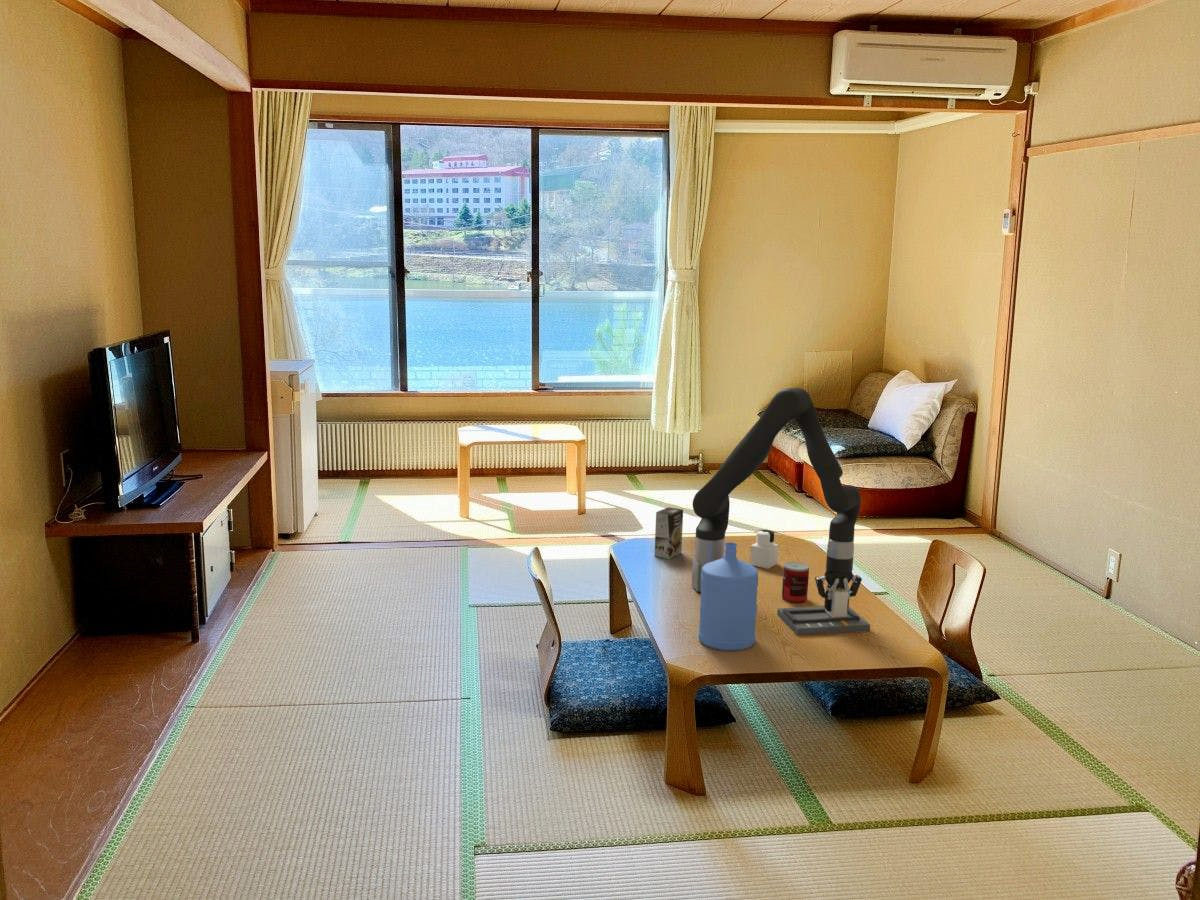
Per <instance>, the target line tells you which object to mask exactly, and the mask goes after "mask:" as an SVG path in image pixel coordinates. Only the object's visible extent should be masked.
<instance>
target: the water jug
mask: <svg viewBox="0 0 1200 900" xmlns="http://www.w3.org/2000/svg"><path fill="white" fill-rule="evenodd" d="M737 547H738V544H737V543H735V542H731V541H730V542H725V548H724V558H722V559H719V560H715V561H712V562H709V563H707V564H705V565H704V566H703V567H702V573H701V592H700V605H699V612H700V613H699V626H698V627H699V628H698V639H699V641H700V642H701V643H702V644H703V645H705V646H706V647H709V648H711V649H714V650H717V651H718V650H719V651H725V652H727V651H729V652H733V651H734V652H735V651H742V650H746V649H748V648H750V647H752V646H753V645H754V644H755V642H756V623H757V622H756V619H757V611H758V606H757V604H758V603H757V601H758V600H757V599H758V586H759V571H758V569H757V568H756V566H753V565H750V563H748V562H745V561H743V560H741V559H739V558H737V551H738V550H737Z"/></svg>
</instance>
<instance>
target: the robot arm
mask: <svg viewBox="0 0 1200 900" xmlns="http://www.w3.org/2000/svg"><path fill="white" fill-rule="evenodd" d="M793 420H794V422H796V424H797V426H798V427H799V429H800V431H801V433H802V435H803V438H804V442H805V447H806V451H807V452H806V453H807V456H808V459H809V462H810V463H811V466H812V468H813V470H814V472H815V473H816V474H815V475H817V477H818V478H819V481H820V486H821V489H822V494H823V497H824V500H825V503H826V504H827V506H828V508H829V509H830V510H831V511H833V512H835V513H836V514H835V516H834V517H833V518H832V519H831V521H830V523H829V528H828V529H829V532H828V541H827V545H826V546H827V547H826V562H825V572H824V574H823V576H820V577H819V576H815V577H814V579H815V580H814V581H815V584H816V589H817V593H818V595H819V596H820V597H821V598H823V599H824V605H823V606H824V607H825V609H826V610H827V611H828V612H829V611H831V605H832V600H831V598H832V595H833V592H834V591H835V589H837V588H843V589H844V590H847V591H848V605H847V609H848V607H850V598H852V597H856V596H857V594H858V591H859V589H860V585H861V584H862V580H863V578H862V577H861V576H860V575H858V574H854V573H853V569H854V568H853V567H854V555H855V543H854V541H855V540H854V539H855V525H856V523H857V519H858V517H859V513H860V510H861V505H862V496H861V493H860V490H859V489H858V488H857V487H856V486H855V485H851V484H847V485H844V486H843V484H842V482H841V479H840V478H841V477H843V474H844V472H843V468H842V466H841V464H840V462H839V461H838V459H837V457H836V455H835V454H834V452H833V450H832V447H831V446H830V444H829V441H828V440H827V438H826V435H825V432H824V431H823V430H824V429H823V428H822V425H821V422H820V420H819V417H818V414H817V412H816V408H815V406H814V402H813V399H812V397H811V395H810V394H809V392H808V391H807V390H805V389H804V388H801V387H789V388H788V387H787V388H783V389H780V390H779V391H778V392H777V393H776V394H775V395H773V397H772V399H771V400H770V402H769V403H768V405H767V406H766V408H765V409H764V412H763V413H762V414H761V416H760V417H759V418H758V420H757V421H756V422H755V423H754V425H753V426H752V427H750V429H749V430H748V431H747V433H746V434H745V435H744V436H743V438H742V439H741V440H740V441H739V442H738V444H737V445H736V446H735V447H734V448H733V450H732V451H731V452H730V454H729V455H728V456H727V458H726V459H725V460H724V461H723V463H722V464H721V465H720V467H719V469H718V470H717V471H716V473H715V474H714V475H713V476H712V477H711V478H710V479H709V480H708V481H707V483H706V484H705V485H703V486H702V487H701V488H700V489H699V490H698V491H697V492H696V493H695V494H694V496H693V499H692V511H693V512H694V513H695V515H696V516H697V517H699V518H701V519H700V520H699V522H698V524H697V526H696V529H695V542H694V543H695V544H694V545H695V546H694V547H695V548H694V557H693V558H692V569H691V571H692V574H691V575H692V576H691V586H692V588H693V589H694V591H695V592H697V593H701V573H702V567H703V566H704V565H705V564H707V563H709V562H712V561H715V560H719V559H722V558H724V557H725V548H726V546H725V543H726V532H727V530H728V527H729V526H728V525H729V518H730V496H729V495H730V494H731V493H732V492H733V491H734V490H735V489H736V488H737V487H738V486H739V485H741V484H742V483H743V482H745V481H746V480H747V479H748V478H750V477H751V476H752V475H753V474H754V473H755V472H756V471H757V469H758V468H759V467H761V465H762V464H763V463H764V461H765V460H766V459H767V457H768V455H769V454H770V451H771V449H772V446H773V443H774V441H775V438H776V437H777V435H778V434H779V433H780V432H781V430H783V428H784V427H785V426H786V425H787V424H788V423H790V422H791V421H793ZM825 581H826V582H827V584H826V586H825V587H826V588H825V587H824V585H825ZM851 581H852V582H851ZM849 583H851V585H850V587H849Z"/></svg>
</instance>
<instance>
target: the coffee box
mask: <svg viewBox="0 0 1200 900" xmlns="http://www.w3.org/2000/svg"><path fill="white" fill-rule="evenodd" d="M683 522H684V509H683V508H682V509H681V508H677V507H675V508H674V507H669V506H668V507H665V508H664V509H663V508H662V509H660V510H657V511H656V512H655V529H654V530H655V533H654V557H657V556H658V558H662V557H663V558H662V559H666V558H667V559H666V560H671V559H672V557H673V558H675V557H677V556H678V554H679V555H680V553H681V554H682V551H683V550H682V549H683V526H684V525H683ZM676 555H677V556H676ZM674 556H675V557H674ZM670 558H671V559H670Z"/></svg>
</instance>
